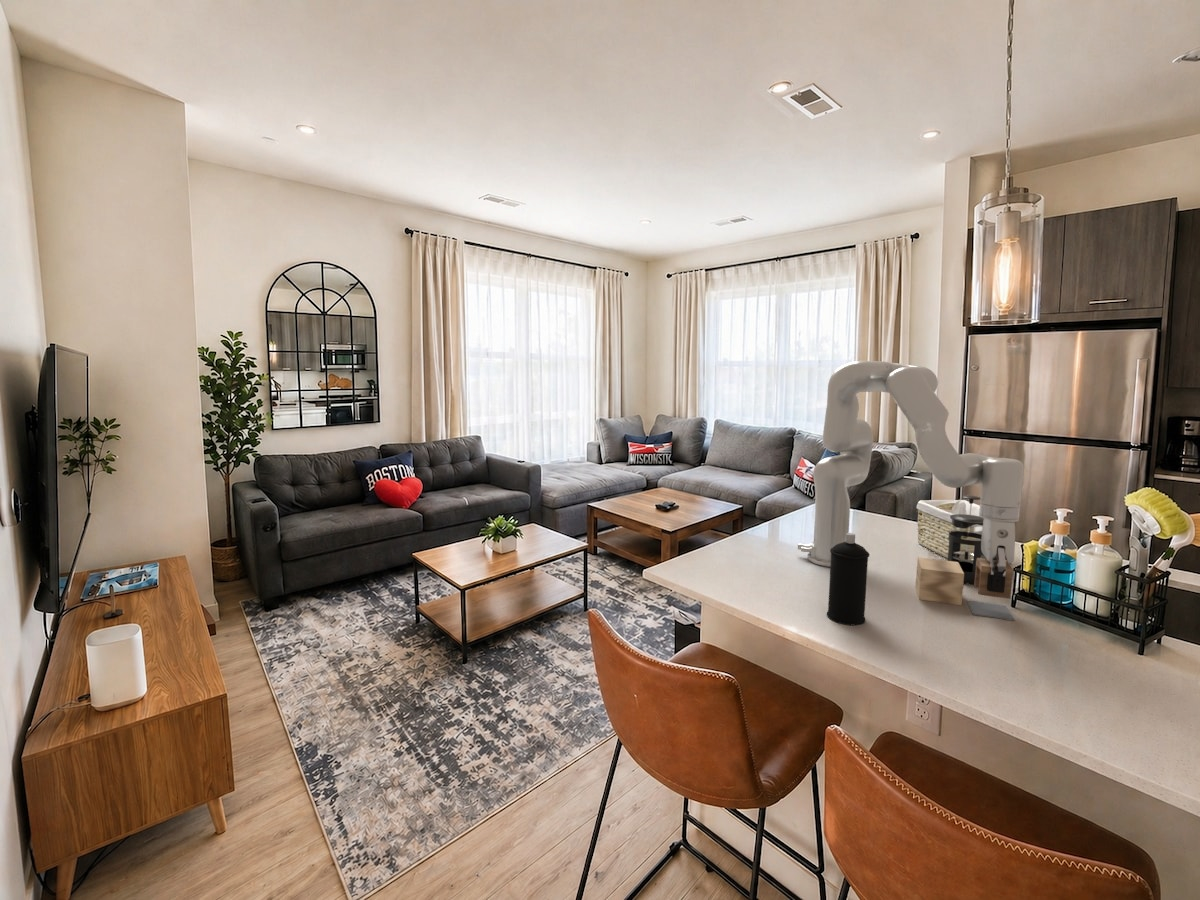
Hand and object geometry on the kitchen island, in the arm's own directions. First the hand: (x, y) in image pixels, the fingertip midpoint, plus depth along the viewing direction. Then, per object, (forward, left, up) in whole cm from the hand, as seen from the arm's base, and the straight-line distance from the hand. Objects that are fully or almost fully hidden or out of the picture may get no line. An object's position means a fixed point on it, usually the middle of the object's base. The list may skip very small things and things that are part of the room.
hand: (992, 585), depth 130 cm
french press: (-2, +23, -6) cm, 23 cm away
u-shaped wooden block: (0, 0, -2) cm, 2 cm away
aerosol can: (-31, -17, -6) cm, 36 cm away
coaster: (0, 0, -6) cm, 6 cm away
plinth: (-10, +6, -6) cm, 13 cm away
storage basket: (0, +46, -7) cm, 46 cm away
